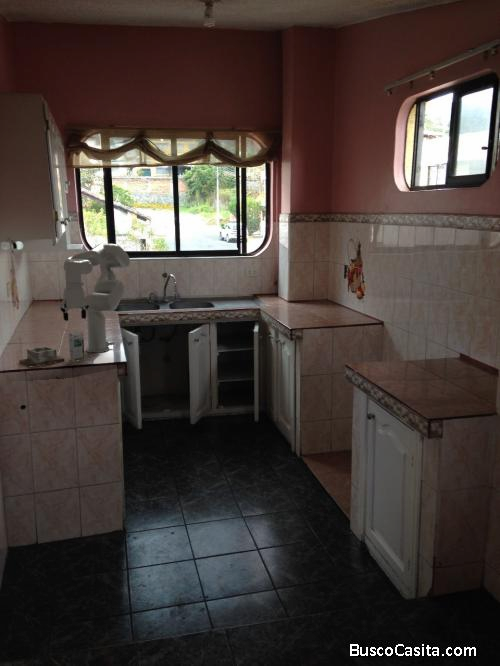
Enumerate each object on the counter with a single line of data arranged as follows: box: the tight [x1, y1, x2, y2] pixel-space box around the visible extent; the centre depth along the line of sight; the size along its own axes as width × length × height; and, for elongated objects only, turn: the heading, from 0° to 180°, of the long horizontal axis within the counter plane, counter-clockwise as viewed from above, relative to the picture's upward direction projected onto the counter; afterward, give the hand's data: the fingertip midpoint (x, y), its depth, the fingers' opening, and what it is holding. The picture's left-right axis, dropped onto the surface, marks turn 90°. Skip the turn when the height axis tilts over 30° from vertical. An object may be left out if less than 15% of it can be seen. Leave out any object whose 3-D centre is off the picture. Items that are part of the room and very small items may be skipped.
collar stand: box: [18, 345, 65, 367], centre depth 299 cm, size 18×12×6 cm, turn 135°
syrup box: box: [68, 331, 86, 362], centre depth 303 cm, size 6×6×14 cm
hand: (75, 319), depth 300 cm, fingers open, 9 cm apart
